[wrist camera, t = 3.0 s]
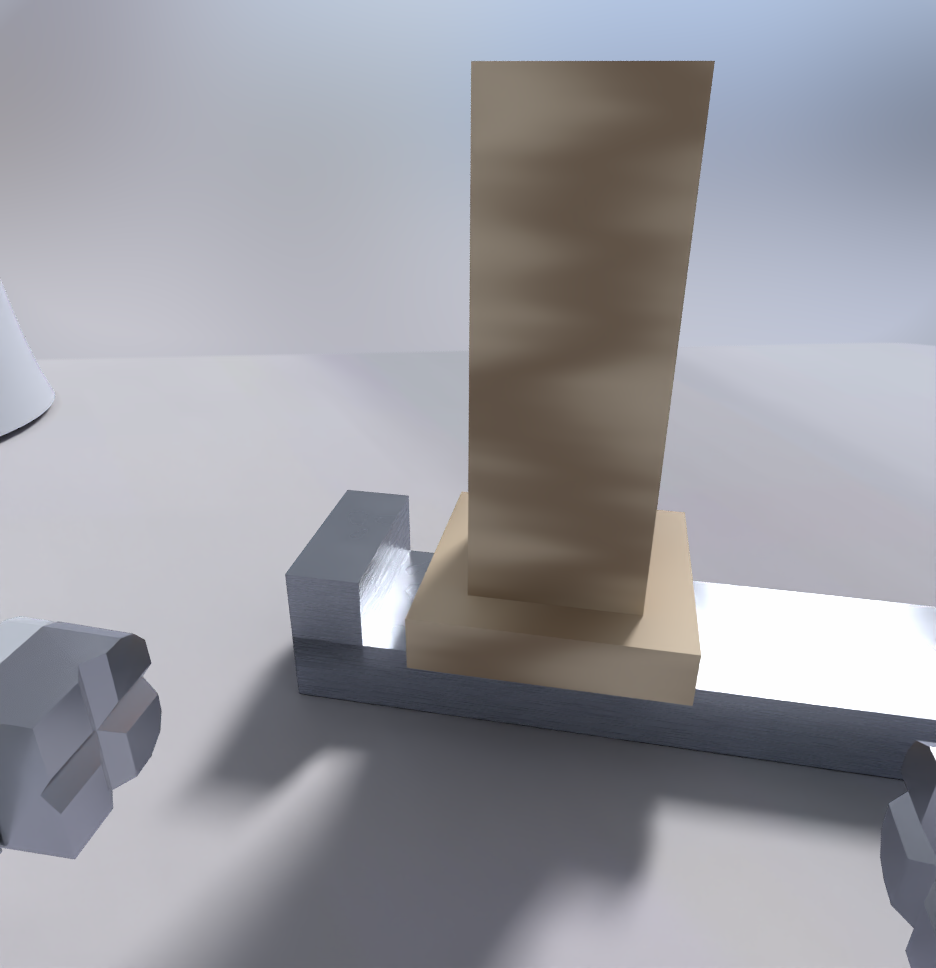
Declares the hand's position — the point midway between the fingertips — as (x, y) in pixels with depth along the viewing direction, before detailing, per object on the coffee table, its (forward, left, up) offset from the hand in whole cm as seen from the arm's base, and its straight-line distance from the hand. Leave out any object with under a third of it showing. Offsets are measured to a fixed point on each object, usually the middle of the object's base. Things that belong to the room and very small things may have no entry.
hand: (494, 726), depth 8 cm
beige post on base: (0, +12, -7) cm, 14 cm away
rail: (+5, +12, -9) cm, 16 cm away
